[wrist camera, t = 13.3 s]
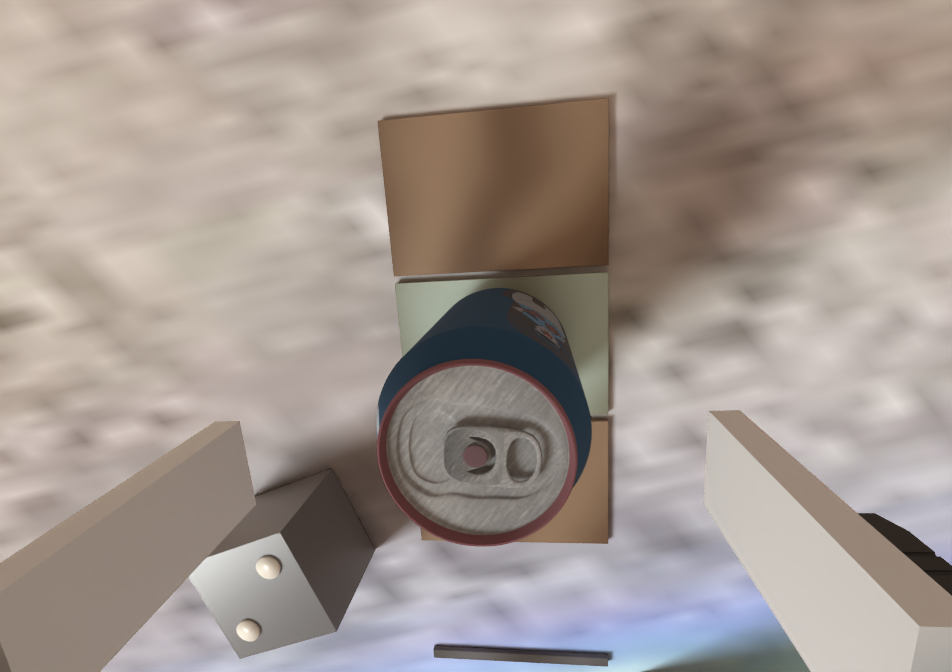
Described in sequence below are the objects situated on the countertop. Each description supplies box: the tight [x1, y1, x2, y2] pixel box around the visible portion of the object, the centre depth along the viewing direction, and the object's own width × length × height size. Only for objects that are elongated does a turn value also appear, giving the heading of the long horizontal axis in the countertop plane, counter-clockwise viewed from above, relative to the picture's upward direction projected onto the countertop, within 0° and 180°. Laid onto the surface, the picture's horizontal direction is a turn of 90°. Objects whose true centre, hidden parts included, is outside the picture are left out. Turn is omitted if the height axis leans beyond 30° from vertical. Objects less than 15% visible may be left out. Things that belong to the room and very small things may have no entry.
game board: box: [378, 98, 609, 666], centre depth 26 cm, size 11×32×1 cm, turn 4°
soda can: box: [376, 288, 592, 546], centre depth 19 cm, size 7×7×12 cm
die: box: [189, 468, 375, 659], centre depth 26 cm, size 6×6×6 cm
